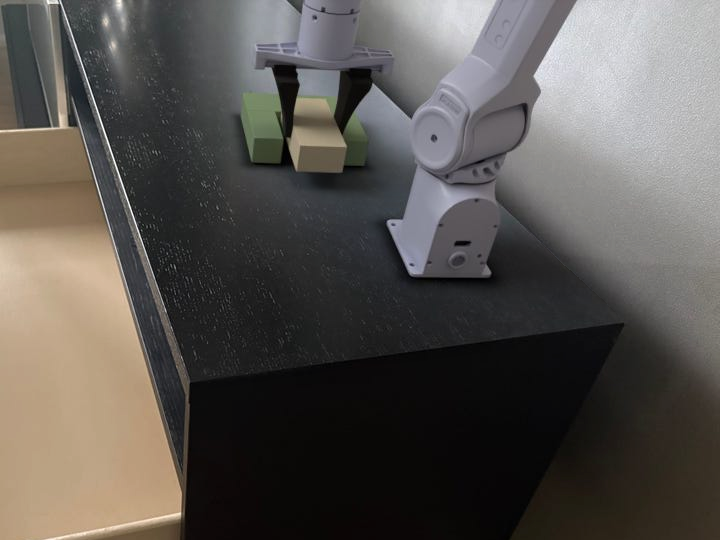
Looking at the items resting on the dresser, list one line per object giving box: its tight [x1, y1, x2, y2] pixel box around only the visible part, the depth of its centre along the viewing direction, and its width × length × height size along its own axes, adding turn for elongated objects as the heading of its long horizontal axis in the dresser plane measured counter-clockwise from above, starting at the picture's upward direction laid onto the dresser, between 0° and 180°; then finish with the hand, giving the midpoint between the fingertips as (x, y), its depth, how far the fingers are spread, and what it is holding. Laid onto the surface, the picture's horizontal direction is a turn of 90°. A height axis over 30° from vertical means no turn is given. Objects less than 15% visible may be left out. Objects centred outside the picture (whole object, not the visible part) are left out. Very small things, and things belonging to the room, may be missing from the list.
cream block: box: [280, 98, 347, 174], centre depth 84 cm, size 12×5×3 cm, turn 6°
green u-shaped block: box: [240, 92, 370, 167], centre depth 89 cm, size 12×13×3 cm
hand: (311, 134), depth 84 cm, fingers closed on cream block, 5 cm apart
